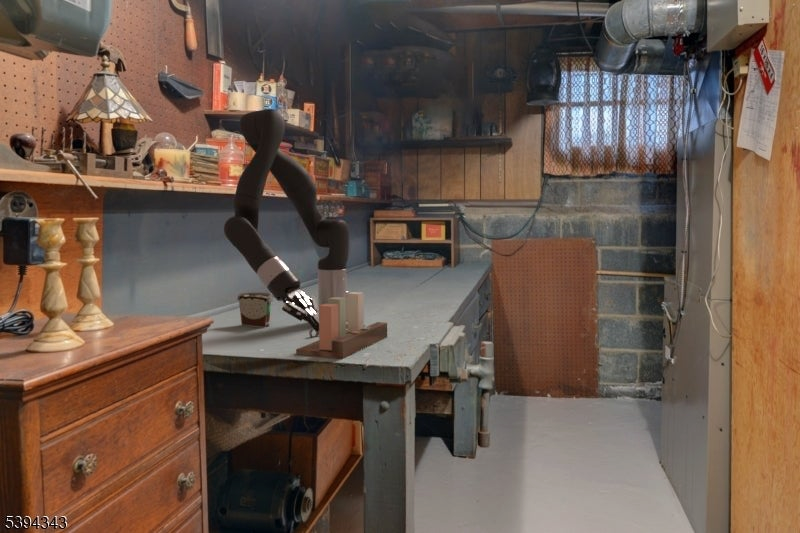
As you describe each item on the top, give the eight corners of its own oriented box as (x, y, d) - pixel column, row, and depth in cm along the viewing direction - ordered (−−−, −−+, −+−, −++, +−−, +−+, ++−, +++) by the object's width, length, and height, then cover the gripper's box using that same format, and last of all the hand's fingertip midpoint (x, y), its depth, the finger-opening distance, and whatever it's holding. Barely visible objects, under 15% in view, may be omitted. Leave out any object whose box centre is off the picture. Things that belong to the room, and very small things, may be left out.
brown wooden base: (296, 353, 151) (295, 336, 151) (345, 333, 176) (345, 318, 176) (343, 358, 146) (342, 340, 146) (387, 337, 171) (387, 321, 170)
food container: (281, 324, 190) (280, 293, 189) (269, 328, 185) (268, 295, 184) (250, 321, 195) (249, 291, 195) (237, 324, 190) (237, 293, 189)
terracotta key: (319, 349, 149) (318, 305, 148) (326, 346, 152) (325, 303, 151) (331, 350, 148) (331, 306, 147) (338, 347, 151) (338, 304, 150)
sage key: (328, 339, 161) (328, 298, 160) (334, 336, 164) (334, 297, 163) (340, 340, 159) (339, 299, 158) (346, 337, 163) (345, 297, 162)
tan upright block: (347, 331, 171) (347, 293, 170) (352, 329, 174) (352, 292, 173) (358, 332, 169) (358, 294, 168) (363, 330, 173) (363, 292, 172)
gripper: (272, 271, 147) (316, 323, 143) (300, 266, 159) (342, 315, 155) (254, 291, 149) (297, 343, 146) (284, 285, 161) (324, 333, 158)
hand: (320, 328), depth 151 cm, fingers closed
